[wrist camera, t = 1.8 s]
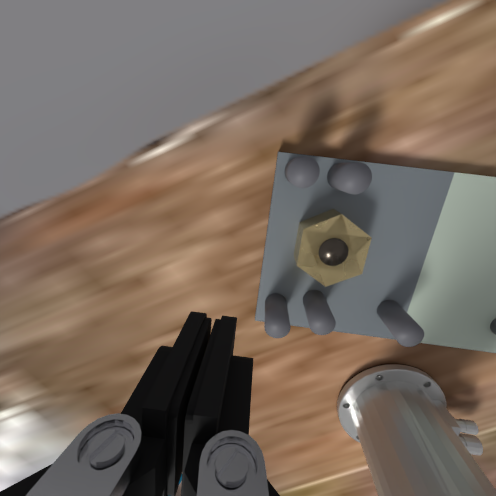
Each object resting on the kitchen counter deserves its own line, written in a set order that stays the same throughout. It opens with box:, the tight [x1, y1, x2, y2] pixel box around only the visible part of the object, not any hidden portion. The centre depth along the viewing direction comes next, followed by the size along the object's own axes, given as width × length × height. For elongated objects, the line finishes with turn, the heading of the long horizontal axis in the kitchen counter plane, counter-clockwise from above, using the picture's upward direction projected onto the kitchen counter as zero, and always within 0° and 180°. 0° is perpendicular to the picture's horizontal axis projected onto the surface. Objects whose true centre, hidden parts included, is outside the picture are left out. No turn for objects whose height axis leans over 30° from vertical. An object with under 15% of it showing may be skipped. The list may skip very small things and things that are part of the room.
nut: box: [294, 209, 372, 287], centre depth 25 cm, size 6×7×3 cm
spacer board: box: [255, 152, 496, 353], centre depth 25 cm, size 34×18×6 cm, turn 84°
